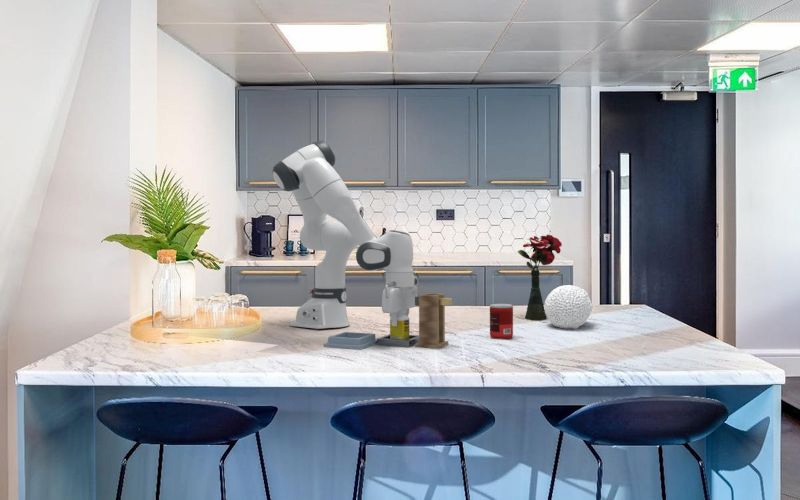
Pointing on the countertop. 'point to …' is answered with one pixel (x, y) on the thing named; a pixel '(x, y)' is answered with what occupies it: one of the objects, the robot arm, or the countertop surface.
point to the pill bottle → (400, 326)
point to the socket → (398, 341)
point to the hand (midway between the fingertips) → (399, 324)
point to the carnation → (545, 257)
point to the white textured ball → (568, 307)
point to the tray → (351, 340)
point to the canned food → (501, 321)
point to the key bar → (441, 301)
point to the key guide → (431, 321)
